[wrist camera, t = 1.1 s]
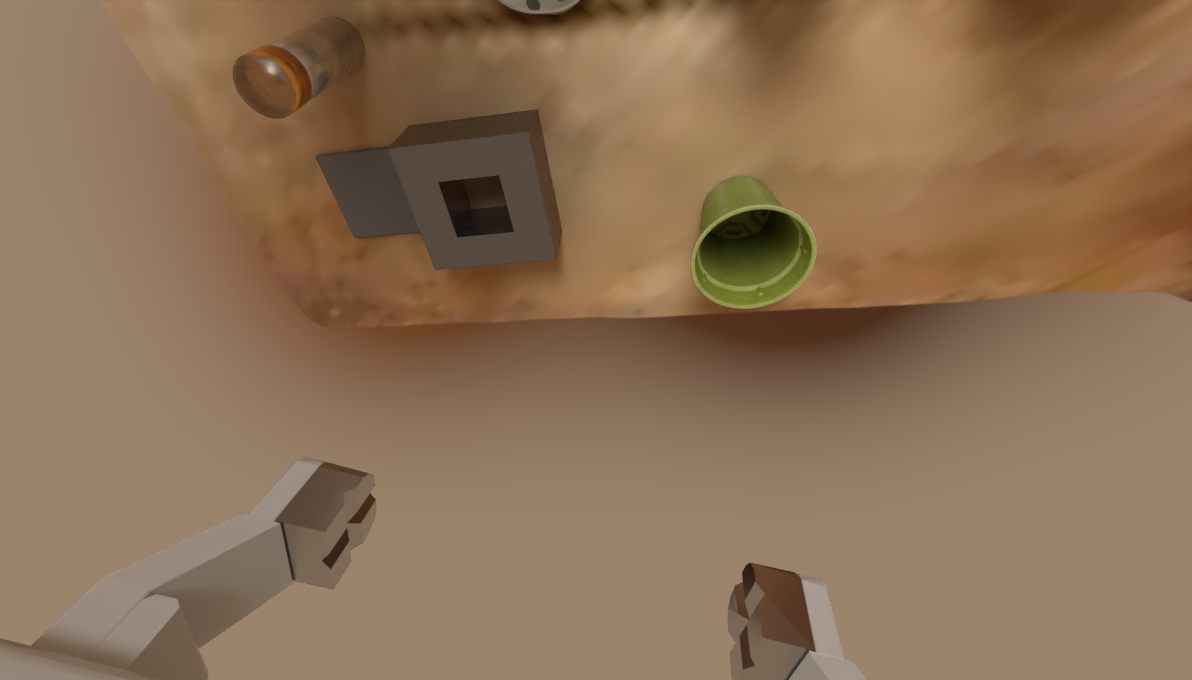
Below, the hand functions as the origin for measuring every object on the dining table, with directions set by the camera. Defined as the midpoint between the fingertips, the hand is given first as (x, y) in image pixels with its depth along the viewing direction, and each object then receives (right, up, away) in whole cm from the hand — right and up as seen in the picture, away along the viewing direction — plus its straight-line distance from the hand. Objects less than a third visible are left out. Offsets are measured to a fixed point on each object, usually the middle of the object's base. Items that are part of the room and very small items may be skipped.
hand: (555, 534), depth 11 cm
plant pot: (+13, +16, +36) cm, 42 cm away
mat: (-19, +18, +37) cm, 45 cm away
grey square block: (-9, +18, +36) cm, 41 cm away
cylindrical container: (-19, +27, +29) cm, 44 cm away
